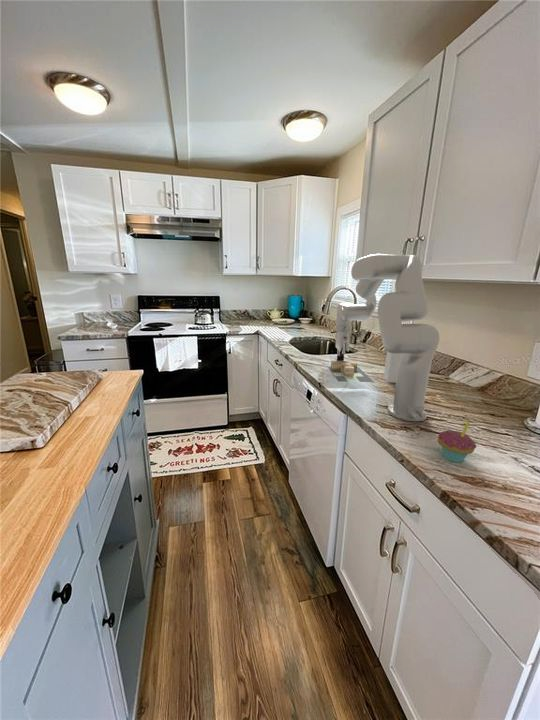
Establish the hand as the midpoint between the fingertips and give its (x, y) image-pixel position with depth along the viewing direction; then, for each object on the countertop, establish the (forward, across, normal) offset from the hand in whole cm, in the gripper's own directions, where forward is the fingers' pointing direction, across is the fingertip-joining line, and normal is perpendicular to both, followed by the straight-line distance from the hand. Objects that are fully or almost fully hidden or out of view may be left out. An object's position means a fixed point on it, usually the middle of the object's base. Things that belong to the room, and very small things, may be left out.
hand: (339, 362), depth 155 cm
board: (+2, -14, -1) cm, 14 cm away
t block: (+1, -11, 0) cm, 11 cm away
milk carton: (+3, -22, -19) cm, 29 cm away
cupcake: (+2, -80, -10) cm, 81 cm away
